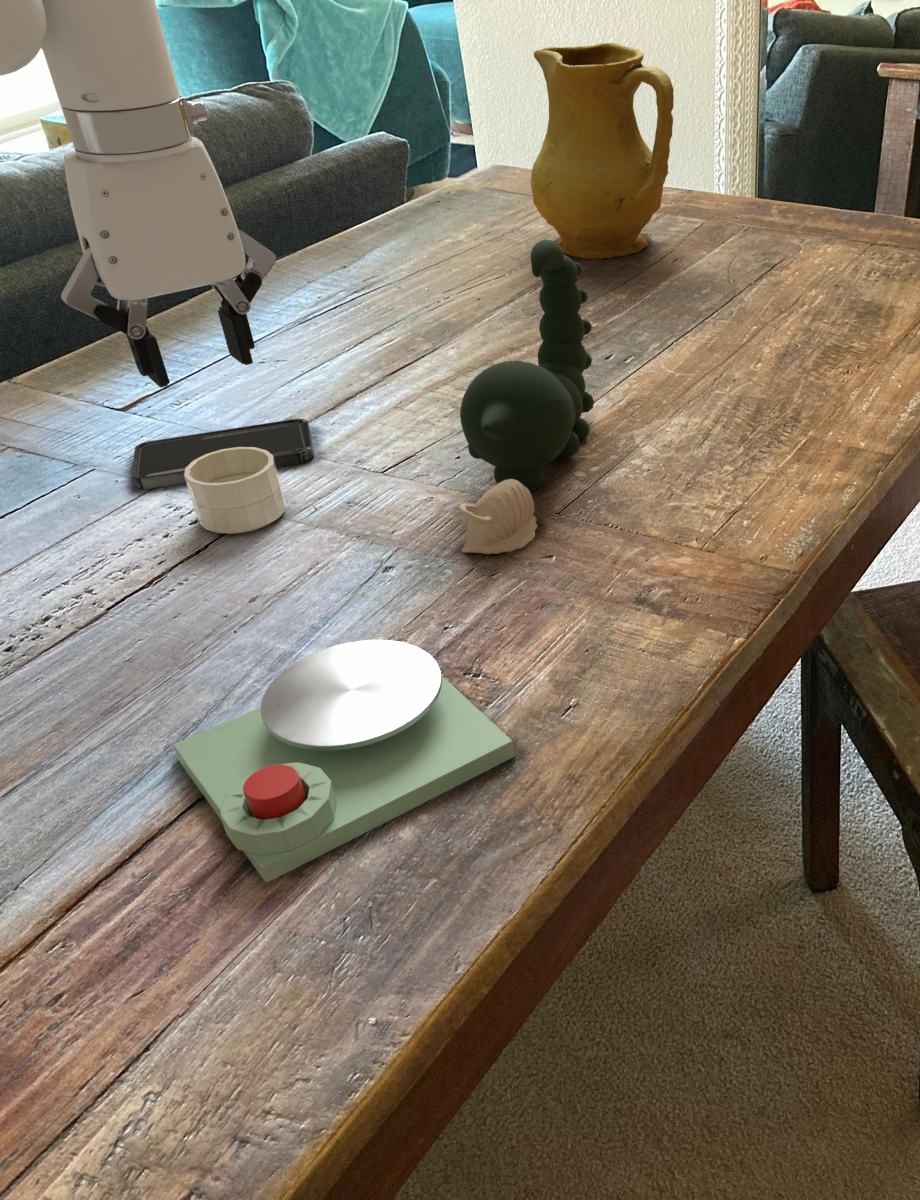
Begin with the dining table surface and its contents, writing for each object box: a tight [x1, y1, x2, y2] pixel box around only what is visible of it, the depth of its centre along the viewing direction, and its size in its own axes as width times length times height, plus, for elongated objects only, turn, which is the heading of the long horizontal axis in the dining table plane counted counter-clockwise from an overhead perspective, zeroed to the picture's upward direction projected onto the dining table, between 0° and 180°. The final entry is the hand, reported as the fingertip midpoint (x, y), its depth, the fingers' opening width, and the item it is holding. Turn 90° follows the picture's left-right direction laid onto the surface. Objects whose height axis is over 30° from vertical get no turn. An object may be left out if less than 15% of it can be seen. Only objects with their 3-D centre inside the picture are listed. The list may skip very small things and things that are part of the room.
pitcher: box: [530, 42, 675, 260], centre depth 156 cm, size 17×19×25 cm
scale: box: [172, 675, 516, 884], centre depth 75 cm, size 16×14×3 cm
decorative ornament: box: [458, 479, 538, 555], centre depth 96 cm, size 4×8×5 cm, turn 150°
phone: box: [131, 418, 315, 490], centre depth 110 cm, size 8×1×15 cm
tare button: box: [243, 765, 305, 819], centre depth 68 cm, size 3×3×2 cm
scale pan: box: [260, 639, 443, 751], centre depth 76 cm, size 11×11×1 cm
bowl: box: [184, 447, 287, 535], centre depth 100 cm, size 7×7×5 cm
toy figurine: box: [459, 239, 595, 492], centre depth 106 cm, size 9×19×25 cm
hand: (200, 368), depth 94 cm, fingers open, 5 cm apart
